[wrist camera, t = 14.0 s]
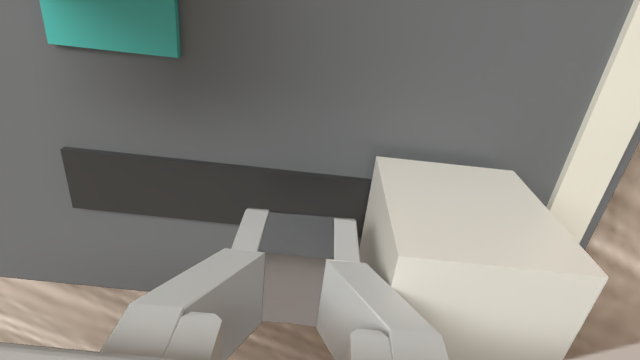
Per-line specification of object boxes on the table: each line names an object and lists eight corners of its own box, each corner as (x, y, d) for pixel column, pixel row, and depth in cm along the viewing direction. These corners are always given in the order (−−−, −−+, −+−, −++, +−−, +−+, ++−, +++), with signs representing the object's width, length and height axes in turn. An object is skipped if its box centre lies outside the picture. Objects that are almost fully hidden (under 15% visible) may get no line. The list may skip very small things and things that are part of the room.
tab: (513, 170, 10) (608, 277, 7) (475, 276, 12) (535, 409, 8) (376, 156, 10) (398, 255, 7) (356, 265, 12) (365, 392, 8)
